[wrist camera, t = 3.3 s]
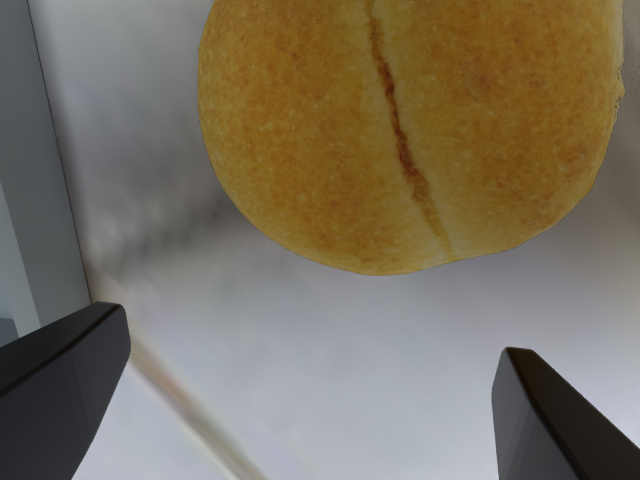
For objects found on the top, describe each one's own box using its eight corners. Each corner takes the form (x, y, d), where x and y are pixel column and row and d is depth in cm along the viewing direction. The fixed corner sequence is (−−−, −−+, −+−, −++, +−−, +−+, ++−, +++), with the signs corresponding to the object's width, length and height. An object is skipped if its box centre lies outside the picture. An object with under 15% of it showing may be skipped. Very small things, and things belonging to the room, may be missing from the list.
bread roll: (167, -28, 12) (80, -35, 8) (576, -163, 10) (690, -245, 7) (273, 274, 15) (244, 363, 12) (595, 212, 13) (676, 292, 10)
